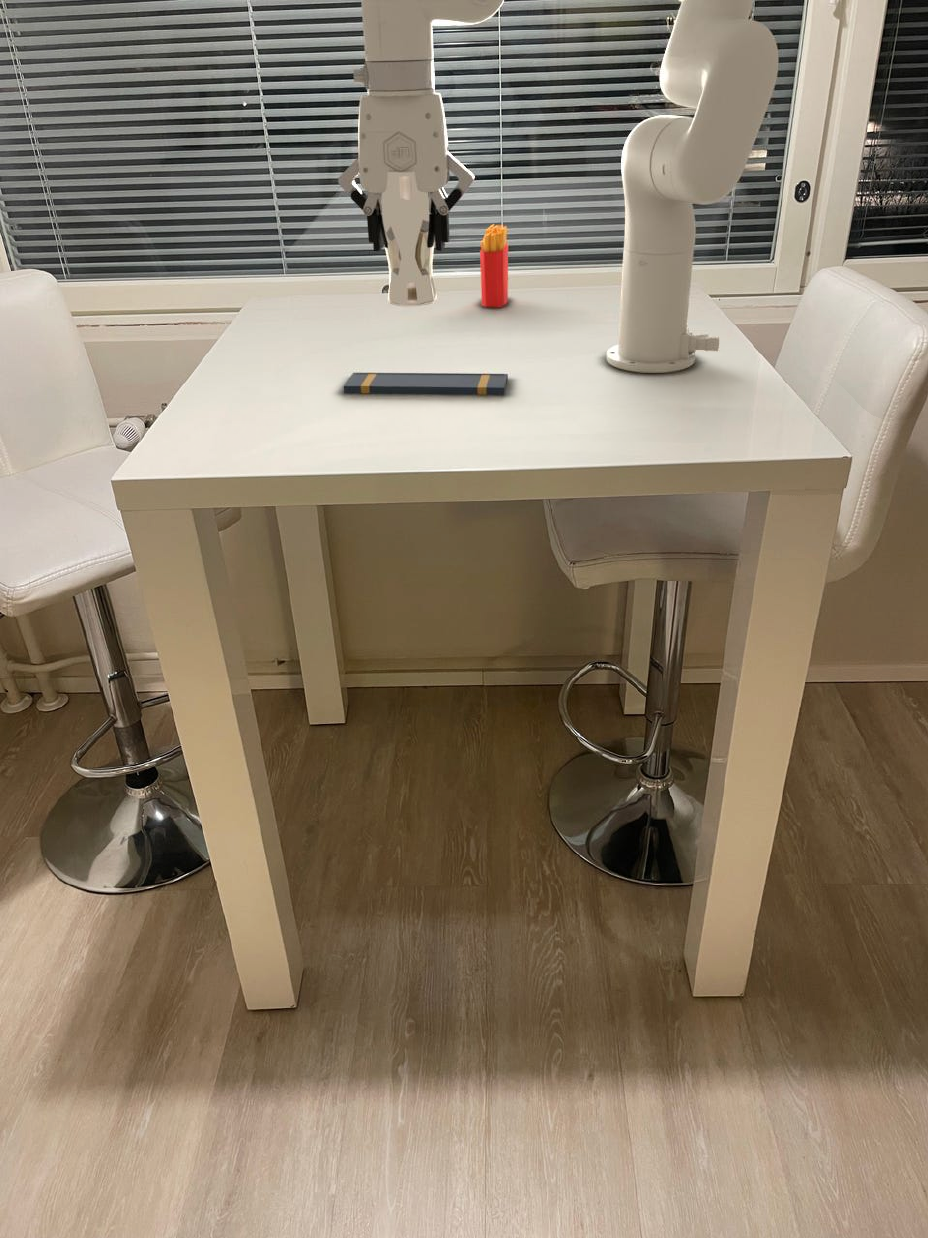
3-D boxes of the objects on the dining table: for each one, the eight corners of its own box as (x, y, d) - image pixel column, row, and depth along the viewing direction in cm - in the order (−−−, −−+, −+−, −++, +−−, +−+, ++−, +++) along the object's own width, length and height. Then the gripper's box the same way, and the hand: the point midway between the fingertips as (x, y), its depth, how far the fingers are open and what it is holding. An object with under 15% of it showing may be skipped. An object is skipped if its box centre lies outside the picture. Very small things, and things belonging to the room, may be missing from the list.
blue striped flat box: (507, 380, 132) (507, 372, 131) (504, 394, 127) (504, 386, 126) (353, 379, 134) (353, 371, 134) (344, 393, 129) (343, 385, 129)
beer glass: (433, 308, 114) (427, 171, 106) (378, 306, 115) (367, 172, 108) (445, 294, 120) (441, 164, 112) (393, 293, 121) (384, 164, 113)
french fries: (487, 296, 174) (486, 221, 168) (510, 297, 174) (510, 221, 167) (478, 309, 167) (476, 230, 160) (502, 309, 166) (501, 230, 159)
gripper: (316, 83, 103) (332, 255, 112) (474, 79, 101) (477, 254, 110) (332, 80, 109) (346, 243, 119) (481, 76, 107) (484, 242, 117)
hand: (409, 247), depth 114 cm, fingers closed on beer glass, 6 cm apart
